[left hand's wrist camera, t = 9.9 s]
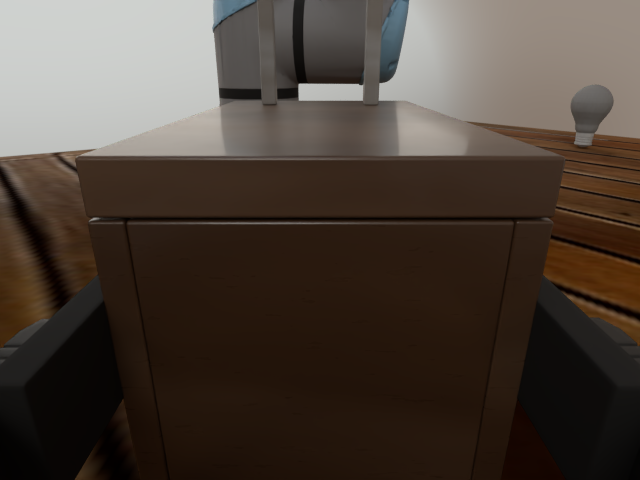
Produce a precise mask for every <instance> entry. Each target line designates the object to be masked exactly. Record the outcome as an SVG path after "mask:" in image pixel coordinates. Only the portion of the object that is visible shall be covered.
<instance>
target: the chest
mask: <svg viewBox="0 0 640 480" xmlns="http://www.w3.org/2000/svg"><path fill="white" fill-rule="evenodd" d="M88 227H89V232H90V237H91V241H92V246H93V251H94V256H95V261H96V266H97V271H98V276H99V281H100V286H101V290H102V295H103V300H104V305H105V310H106V315H107V319H108V324H109V329H110V334H111V339H112V344H113V349H114V354H115V359H116V364H117V369H118V373H119V378H120V383H121V388H122V393H123V398H124V403H125V408H126V413H127V418H128V423H129V428H130V433H131V437H132V442H133V447H134V452H135V457H136V462H137V467H138V472H139V477H140V480H501V476H502V471H503V466H504V461H505V456H506V451H507V447H508V442H509V437H510V432H511V427H512V422H513V417H514V412H515V408H516V403H517V396H518V392H519V387H520V382H521V377H522V372H523V367H524V362H525V357H526V353H527V348H528V343H529V338H530V333H531V328H532V323H533V318H534V313H535V309H536V304H537V300H538V295H539V290H540V285H541V281H542V276H543V271H544V266H545V261H546V256H547V251H548V246H549V242H550V237H551V232H552V227H553V221H551V220H550V219H548V218H93V219H92V220H90V221H89V222H88Z"/></svg>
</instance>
